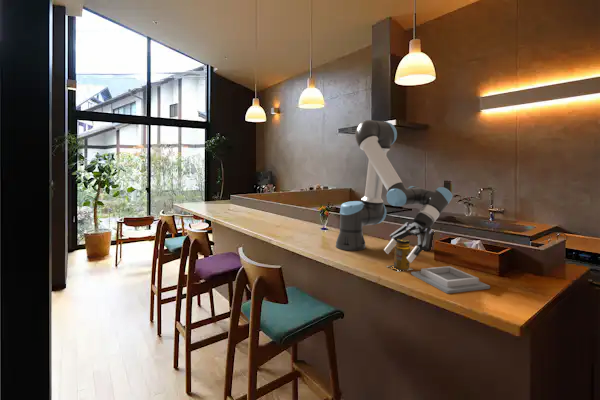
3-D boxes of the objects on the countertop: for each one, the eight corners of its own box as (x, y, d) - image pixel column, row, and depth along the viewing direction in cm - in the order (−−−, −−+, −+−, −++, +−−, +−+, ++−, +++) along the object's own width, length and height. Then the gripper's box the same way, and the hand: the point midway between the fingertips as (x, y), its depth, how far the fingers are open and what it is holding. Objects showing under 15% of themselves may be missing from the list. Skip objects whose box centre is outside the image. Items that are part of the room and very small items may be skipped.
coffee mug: (435, 252, 164) (436, 232, 163) (417, 251, 166) (418, 231, 164) (431, 246, 175) (432, 228, 174) (414, 245, 177) (415, 227, 176)
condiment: (413, 269, 136) (415, 241, 135) (397, 272, 133) (398, 242, 131) (401, 264, 143) (403, 237, 141) (385, 266, 139) (387, 238, 138)
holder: (411, 274, 130) (411, 266, 130) (449, 270, 135) (449, 263, 135) (447, 293, 111) (447, 284, 111) (489, 288, 116) (490, 280, 116)
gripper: (454, 228, 131) (424, 270, 126) (409, 219, 154) (382, 254, 149) (446, 216, 128) (414, 258, 124) (400, 208, 151) (373, 243, 146)
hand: (396, 256), depth 136 cm, fingers open, 13 cm apart
